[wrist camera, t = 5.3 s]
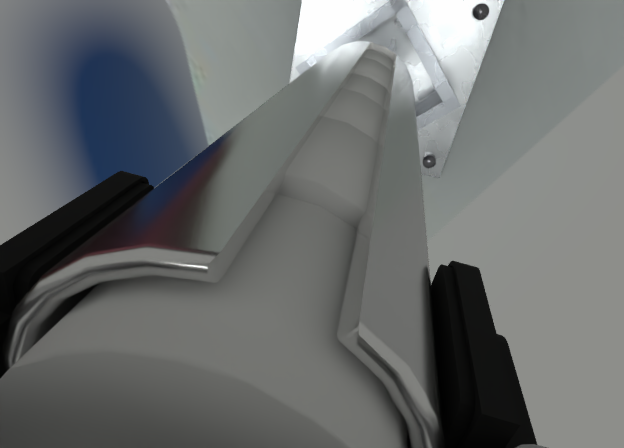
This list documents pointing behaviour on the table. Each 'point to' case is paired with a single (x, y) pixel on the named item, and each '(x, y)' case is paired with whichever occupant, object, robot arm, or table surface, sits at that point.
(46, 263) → the robot arm
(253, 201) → the air filter
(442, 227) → the table surface
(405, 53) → the metal base plate
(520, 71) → the table surface
